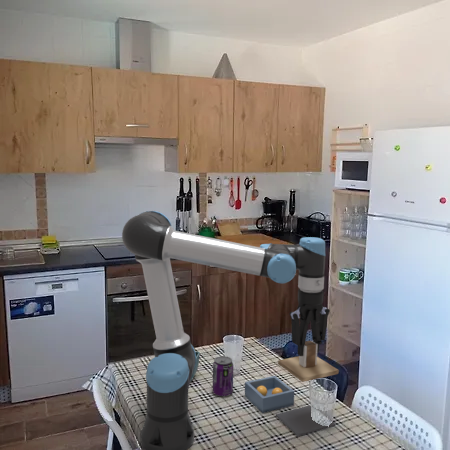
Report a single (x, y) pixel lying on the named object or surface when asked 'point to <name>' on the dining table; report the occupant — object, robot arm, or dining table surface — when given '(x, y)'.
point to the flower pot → (196, 364)
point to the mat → (300, 421)
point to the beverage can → (222, 376)
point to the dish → (269, 394)
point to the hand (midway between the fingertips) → (307, 364)
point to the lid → (308, 365)
